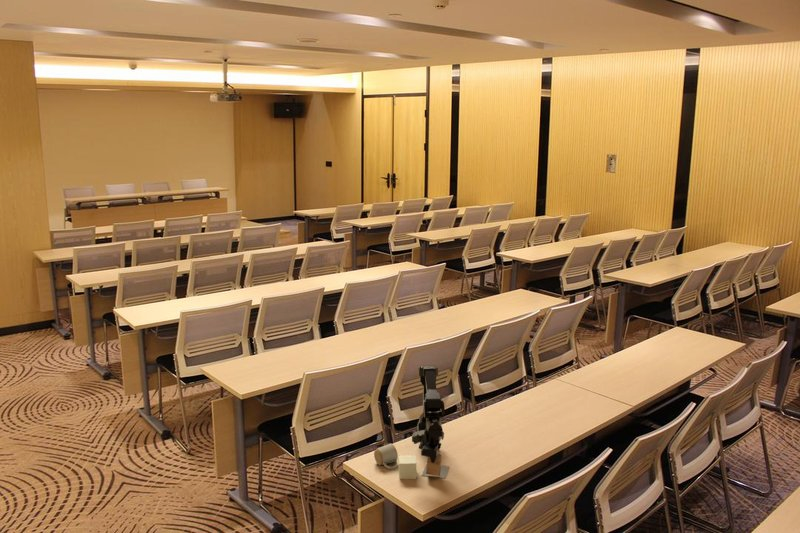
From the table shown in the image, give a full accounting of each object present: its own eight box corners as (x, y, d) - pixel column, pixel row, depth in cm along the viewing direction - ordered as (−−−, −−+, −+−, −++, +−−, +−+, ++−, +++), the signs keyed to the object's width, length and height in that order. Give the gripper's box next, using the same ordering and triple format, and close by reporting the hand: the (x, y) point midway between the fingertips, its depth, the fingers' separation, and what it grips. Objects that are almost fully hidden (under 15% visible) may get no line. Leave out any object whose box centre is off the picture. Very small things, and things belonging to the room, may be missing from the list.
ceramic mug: (373, 461, 295) (372, 445, 293) (389, 456, 299) (389, 440, 298) (385, 472, 286) (385, 455, 285) (402, 467, 291) (402, 450, 289)
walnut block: (427, 475, 283) (430, 453, 285) (439, 477, 281) (441, 454, 284) (425, 475, 278) (428, 452, 281) (438, 476, 277) (440, 453, 280)
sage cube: (398, 470, 287) (398, 455, 286) (415, 470, 288) (415, 455, 286) (399, 479, 281) (399, 463, 279) (416, 478, 281) (416, 463, 279)
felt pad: (426, 464, 292) (426, 464, 292) (449, 466, 290) (449, 466, 290) (421, 476, 283) (421, 475, 283) (445, 478, 280) (445, 478, 280)
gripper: (418, 415, 286) (418, 449, 289) (408, 435, 268) (408, 471, 272) (444, 417, 284) (444, 452, 287) (436, 437, 266) (436, 474, 269)
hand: (432, 462), depth 279 cm, fingers closed
